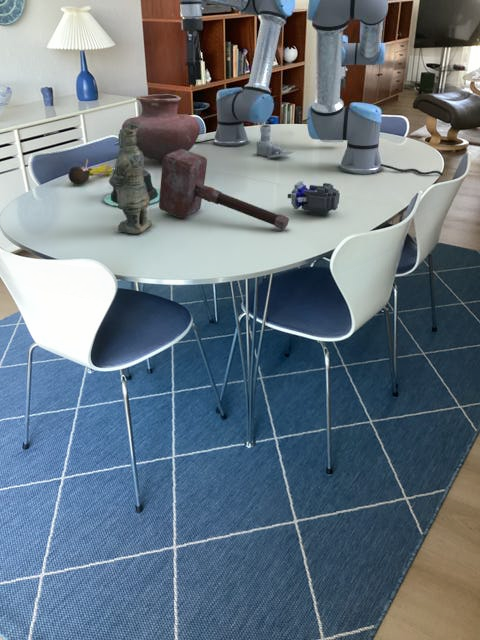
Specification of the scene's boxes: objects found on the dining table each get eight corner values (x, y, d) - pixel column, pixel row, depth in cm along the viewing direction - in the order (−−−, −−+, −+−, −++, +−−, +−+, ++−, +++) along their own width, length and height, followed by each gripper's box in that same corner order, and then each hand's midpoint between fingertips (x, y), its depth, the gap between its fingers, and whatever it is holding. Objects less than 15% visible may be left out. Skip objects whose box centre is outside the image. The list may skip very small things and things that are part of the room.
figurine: (134, 159, 212) (83, 166, 193) (134, 179, 215) (84, 188, 196) (109, 155, 218) (58, 161, 199) (110, 174, 221) (59, 182, 202)
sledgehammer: (299, 190, 156) (179, 147, 167) (285, 200, 148) (161, 154, 160) (286, 244, 166) (174, 200, 177) (272, 256, 158) (156, 209, 170)
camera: (266, 123, 231) (294, 128, 223) (265, 151, 237) (293, 157, 229) (252, 126, 226) (281, 131, 217) (252, 155, 232) (280, 162, 223)
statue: (131, 220, 168) (117, 116, 152) (158, 224, 164) (147, 118, 149) (109, 233, 159) (93, 124, 144) (138, 237, 156) (124, 126, 140)
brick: (322, 142, 237) (323, 119, 232) (321, 138, 242) (322, 116, 237) (343, 142, 236) (344, 119, 231) (341, 138, 241) (343, 116, 237)
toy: (295, 178, 172) (342, 184, 166) (295, 205, 177) (340, 211, 171) (285, 186, 166) (333, 192, 160) (284, 213, 170) (331, 220, 164)
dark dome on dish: (91, 202, 180) (113, 186, 197) (142, 231, 182) (160, 212, 199) (107, 162, 172) (129, 148, 190) (160, 192, 174) (177, 176, 192)
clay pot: (207, 152, 239) (204, 90, 226) (190, 171, 213) (185, 102, 200) (140, 150, 243) (133, 89, 231) (115, 169, 218) (106, 101, 205)
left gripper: (197, 19, 187) (200, 86, 198) (206, 16, 208) (209, 77, 219) (175, 19, 188) (179, 87, 198) (186, 17, 209) (190, 77, 220)
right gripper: (347, 80, 218) (343, 141, 230) (343, 74, 234) (339, 130, 246) (328, 81, 218) (324, 141, 230) (325, 74, 235) (322, 130, 247)
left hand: (195, 82), depth 209 cm, fingers open, 13 cm apart
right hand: (332, 135), depth 238 cm, fingers closed on brick, 6 cm apart
